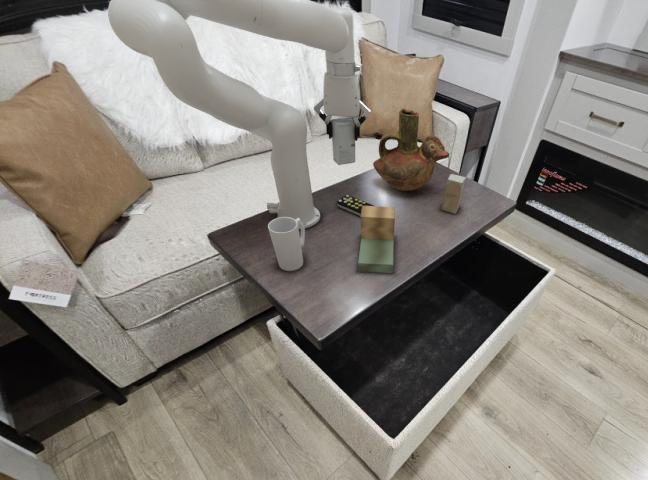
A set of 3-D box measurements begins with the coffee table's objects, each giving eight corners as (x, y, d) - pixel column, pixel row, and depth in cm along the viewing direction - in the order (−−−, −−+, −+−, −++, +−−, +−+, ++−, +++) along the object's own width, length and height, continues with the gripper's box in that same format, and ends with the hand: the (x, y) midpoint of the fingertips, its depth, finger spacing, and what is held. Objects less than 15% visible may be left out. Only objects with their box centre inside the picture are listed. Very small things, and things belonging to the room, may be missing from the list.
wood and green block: (358, 271, 88) (357, 240, 80) (362, 235, 99) (362, 205, 92) (392, 273, 88) (394, 242, 81) (393, 237, 99) (395, 207, 92)
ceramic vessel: (439, 205, 113) (452, 127, 95) (365, 192, 116) (365, 114, 98) (446, 182, 125) (458, 109, 107) (379, 171, 128) (380, 97, 110)
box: (441, 210, 111) (446, 178, 103) (444, 204, 114) (450, 172, 106) (456, 214, 110) (462, 182, 102) (459, 208, 113) (466, 176, 105)
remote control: (366, 219, 105) (366, 214, 103) (335, 206, 109) (334, 200, 107) (378, 211, 108) (378, 206, 107) (347, 198, 113) (347, 193, 111)
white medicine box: (338, 165, 104) (336, 124, 96) (332, 160, 107) (329, 119, 98) (356, 162, 107) (355, 121, 98) (349, 157, 110) (348, 116, 101)
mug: (292, 275, 85) (283, 236, 76) (272, 266, 87) (261, 227, 78) (317, 254, 91) (312, 216, 83) (298, 246, 93) (290, 208, 85)
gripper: (373, 68, 92) (372, 135, 105) (310, 62, 91) (316, 131, 104) (372, 75, 87) (371, 145, 100) (304, 69, 86) (312, 140, 99)
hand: (343, 137), depth 102 cm, fingers closed on white medicine box, 7 cm apart
